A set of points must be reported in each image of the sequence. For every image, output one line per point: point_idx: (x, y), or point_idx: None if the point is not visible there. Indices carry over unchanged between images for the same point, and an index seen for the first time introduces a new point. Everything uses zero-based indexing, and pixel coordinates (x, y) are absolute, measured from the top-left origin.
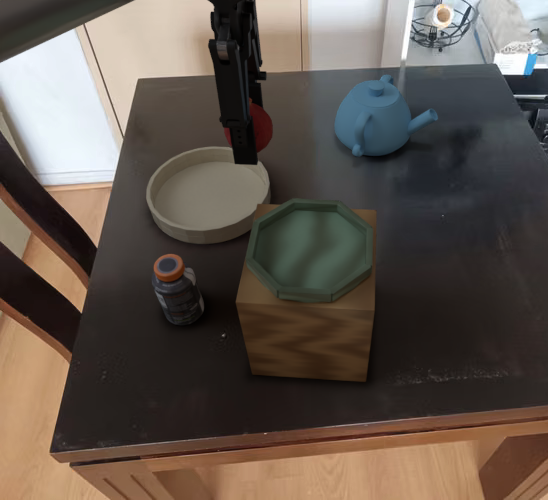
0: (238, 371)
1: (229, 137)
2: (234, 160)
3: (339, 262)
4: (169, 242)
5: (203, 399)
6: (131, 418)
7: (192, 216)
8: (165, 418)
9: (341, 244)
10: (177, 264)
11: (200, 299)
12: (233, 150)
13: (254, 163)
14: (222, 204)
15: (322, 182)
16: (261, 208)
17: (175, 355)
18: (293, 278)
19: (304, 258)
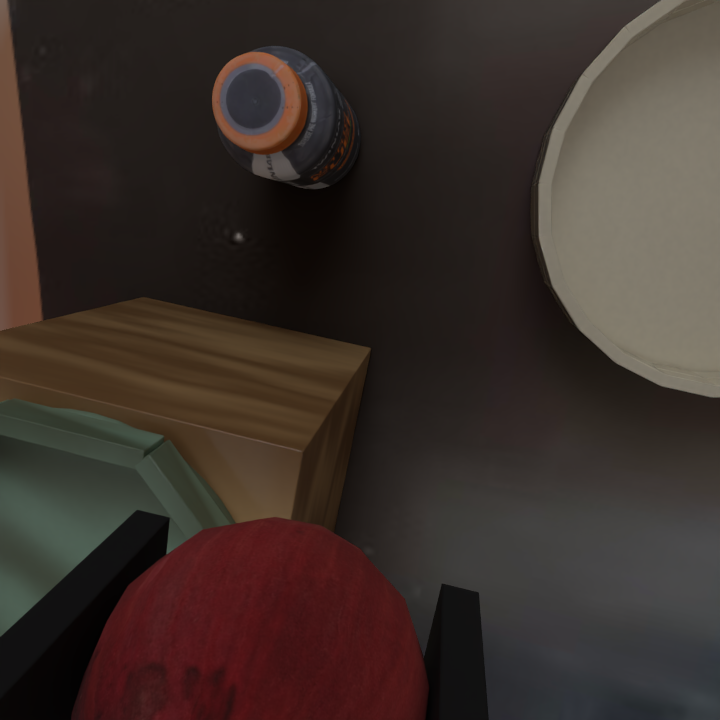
0: (151, 268)
1: (146, 579)
2: (124, 524)
3: None
4: (559, 71)
5: (95, 195)
6: (57, 40)
7: (655, 138)
8: (57, 116)
9: None
10: (253, 132)
11: (294, 185)
12: (76, 570)
13: None
14: (688, 234)
15: (716, 530)
16: (275, 463)
17: (194, 125)
18: None
19: (45, 567)
